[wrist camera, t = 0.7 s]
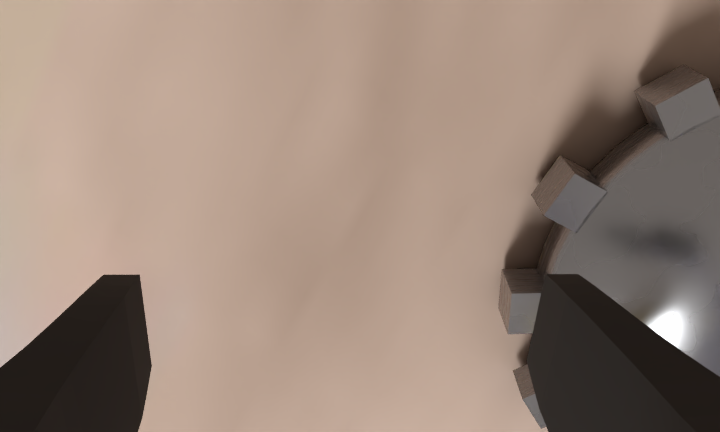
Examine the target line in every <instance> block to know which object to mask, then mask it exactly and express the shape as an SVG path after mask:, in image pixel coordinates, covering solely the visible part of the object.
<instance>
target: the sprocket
mask: <svg viewBox="0 0 720 432" xmlns="http://www.w3.org/2000/svg"><path fill="white" fill-rule="evenodd" d="M634 92H635V94H636V96H637V99H638V101H639V103H640V106H641V108H642V110H643V113H644V115H645V117H646V120H647V122H648V124H646V125H645V126H643V127H642V128H640V129H639V130H638V131H636V132H635V133H634V134H632V135H631V136H630V137H628V138H627V139H626V140H624V141H623V142H622V143H620V144H619V145H618V146H617V147H615V148H614V149H613V150H612V151H611V152H610V153H609V154H608V155H607V156H606V157H605V158H604V159H603V160H602V161H601V162H600V163H598V164H597V165H596V166H595V167H594V168H593V169H592V171H591V172H590V171H588V170H586V169H584V168H582V167H581V166H579V165H577V164H575V163H574V162H572V161H570V160H568V159H566V158H565V157H563V156H561V155H560V156H559V157H558V159H557V160H556V161H555V163H554V164H553V165H552V167H551V168H550V170H549V171H548V172H547V174H546V175H545V176H544V178H543V179H542V181H541V182H540V183H539V185H538V186H537V187H536V189H535V190H534V192H533V193H532V194H531V195H532V197H533V198H534V200H535V202H536V203H537V205H538V207H539V208H540V210H541V212H542V213H543V215H544V216H545V217H547V218H549V219H551V220H553V221H555V223H554V225H553V227H552V229H551V231H550V233H549V235H548V237H547V239H546V241H545V244H544V247H543V250H542V253H541V256H540V259H539V262H538V265H537V269H502V273H501V285H500V296H499V307H498V308H499V311H500V314H501V316H502V319H503V322H504V325H505V327H506V330H507V333H508V334H533V329H534V324H535V320H536V315H537V310H538V306H539V301H540V296H541V292H542V287H543V282H544V278H545V274H579V275H580V276H582V277H583V278H585V279H586V280H588V281H589V282H590V283H592V284H593V285H594V286H596V287H597V288H599V289H600V290H601V291H602V292H604V293H605V294H606V295H608V296H609V297H610V298H612V299H613V300H614V301H616V302H617V303H618V304H619V305H621V306H622V307H623V308H625V309H626V310H627V311H629V312H630V313H631V314H632V315H634V316H635V317H636V318H638V319H639V320H640V321H642V322H643V323H644V324H646V325H647V326H648V327H650V328H651V329H652V330H654V331H655V332H656V333H658V334H659V335H660V336H662V337H663V338H664V339H666V340H667V341H668V342H670V343H671V344H673V345H674V346H675V347H677V348H678V349H680V350H681V351H682V352H684V353H685V354H687V355H688V356H690V357H691V358H693V359H694V360H696V361H697V362H699V363H700V364H702V365H703V366H704V367H706V368H707V369H709V370H710V371H712V372H713V373H715V374H716V375H718V376H719V377H720V90H718V91H715V92H713V89H712V86H711V84H710V81H709V78H708V77H706V76H704V75H702V74H700V73H698V72H696V71H695V70H693V69H691V68H689V67H687V66H685V65H682V66H680V67H678V68H676V69H674V70H673V71H671V72H669V73H667V74H665V75H663V76H661V77H659V78H658V79H656V80H654V81H652V82H650V83H648V84H646V85H645V86H643V87H641V88H639V89H637V90H635V91H634ZM513 373H514V375H515V378H516V381H517V384H518V387H519V390H520V393H521V396H522V399H523V401H524V402H525V404H526V405H527V407H528V409H529V410H530V412H531V413H532V415H533V417H534V418H535V420H536V421H537V423H538V425H539V426H540V428H541V429H542V428H544V427H546V424H545V422H544V419H543V417H542V414H541V412H540V409H539V406H538V402H537V399H536V395H535V392H534V388H533V384H532V380H531V376H530V373H529V369H528V365H527V364H526V365H524V366H522V367H520V368H518V369H516V370H513Z"/></svg>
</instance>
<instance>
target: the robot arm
mask: <svg viewBox="0 0 720 432" xmlns="http://www.w3.org/2000/svg"><path fill="white" fill-rule="evenodd" d="M527 365H528V369H529V373H530V376H531V380H532V384H533V388H534V392H535V395H536V399H537V402H538V406H539V409H540V412H541V414H542V417H543V419H544V422H545V424H546V427H547V429H548V431H549V432H720V377H719V376H718V375H716V374H715V373H713V372H712V371H710V370H709V369H707V368H706V367H704V366H703V365H702V364H700V363H699V362H697V361H696V360H694V359H693V358H691V357H690V356H688V355H687V354H685V353H684V352H682V351H681V350H680V349H678V348H677V347H675V346H674V345H673V344H671V343H670V342H668V341H667V340H666V339H664V338H663V337H662V336H660V335H659V334H658V333H656V332H655V331H654V330H652V329H651V328H650V327H648V326H647V325H646V324H644V323H643V322H642V321H640V320H639V319H638V318H636V317H635V316H634V315H632V314H631V313H630V312H629V311H627V310H626V309H625V308H623V307H622V306H621V305H619V304H618V303H617V302H616V301H614V300H613V299H612V298H610V297H609V296H608V295H606V294H605V293H604V292H602V291H601V290H600V289H599V288H597V287H596V286H594V285H593V284H592V283H590V282H589V281H588V280H586V279H585V278H583V277H582V276H580V275H579V274H545V278H544V282H543V287H542V292H541V296H540V301H539V306H538V310H537V315H536V320H535V324H534V329H533V334H532V338H531V343H530V347H529V352H528V357H527ZM151 366H152V365H151V358H150V350H149V343H148V335H147V327H146V320H145V312H144V305H143V297H142V289H141V282H140V275H103V276H102V277H101V278H100V279H98V280H97V281H96V282H95V283H94V284H93V285H92V286H91V287H90V288H89V289H88V290H86V291H85V292H84V293H83V294H82V295H81V296H80V297H79V298H78V299H77V300H76V301H75V302H74V303H73V304H72V305H71V306H70V307H68V308H67V309H66V310H65V311H64V312H63V313H62V314H61V315H60V316H59V317H58V318H57V319H56V320H55V321H54V322H53V323H51V324H50V325H49V326H48V327H47V328H46V329H45V330H44V331H43V332H41V333H40V334H39V335H38V336H37V337H36V338H35V339H34V340H33V341H32V342H30V343H29V344H28V345H27V346H26V347H25V348H24V349H23V350H21V351H20V352H19V353H18V354H16V355H15V356H14V357H13V358H12V359H10V360H9V361H8V362H7V363H5V364H4V365H3V366H2V367H1V368H0V432H138V429H139V426H140V423H141V420H142V416H143V410H144V405H145V400H146V395H147V389H148V383H149V378H150V372H151Z"/></svg>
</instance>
